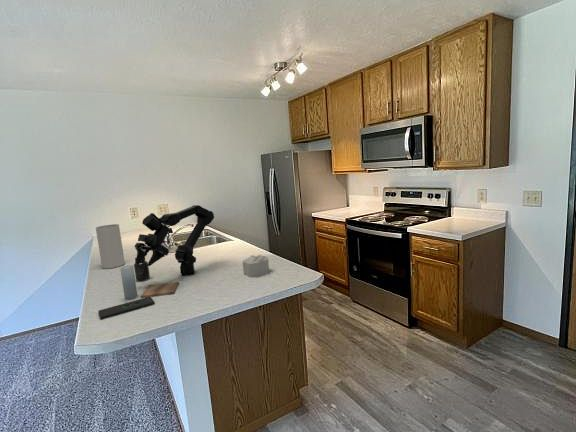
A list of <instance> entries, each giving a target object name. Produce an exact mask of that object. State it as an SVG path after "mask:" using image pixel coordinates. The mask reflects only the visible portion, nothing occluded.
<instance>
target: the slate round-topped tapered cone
mask: <svg viewBox="0 0 576 432" xmlns="http://www.w3.org/2000/svg"><path fill="white" fill-rule="evenodd" d="M119 269H120V270H119V271H120V276H121V283H122V288H123V294H124V300H127V301H128V300H129V301H130V300H133V299H137V297H138V289H137V283H136V276H135V270H134V265H132V264H131V265H123V266H120V268H119Z"/></svg>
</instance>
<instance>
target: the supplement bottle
mask: <svg viewBox="0 0 576 432" xmlns="http://www.w3.org/2000/svg"><path fill="white" fill-rule="evenodd" d="M135 262H136V257H134V264H133V268H134V275H135V281H137V282H145V281H148V280H149V279H150V278H151V274H150V273H151V272H150V268H149V267H150V266H148V263H149V261H146V256H145V257H144V258H143V259H142V260H141V261H140V262H139V263H138V264H135Z"/></svg>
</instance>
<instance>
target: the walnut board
mask: <svg viewBox="0 0 576 432" xmlns="http://www.w3.org/2000/svg"><path fill="white" fill-rule="evenodd" d="M179 284H180V283H179V281H171V282H165V283H164V282H163V283H155V284H148V285H147V287H146V288H145V290H144V291H143V292H142V294H141V296H140V299H143V298H146V297H151V298H152V297H154V298H155V297H159V296H160V297H161V296H167V295H169V296H170V295H174V294H175V293H176V290H177V289H178V287H179Z"/></svg>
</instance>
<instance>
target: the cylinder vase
mask: <svg viewBox="0 0 576 432" xmlns="http://www.w3.org/2000/svg"><path fill="white" fill-rule="evenodd" d="M95 231H96V238H97V239H96V240H97V244H98V245H97V246H98V251H99V257H100V264H101V267H102V268H103V269H105V270H107V269H108V270H109V269H114V268H119V267H120V268H121V267H123V266H125V262H126V261H125V256H124V255H125V254H124V249H123V243H122V235H121V230H120V224H117V223H116V224H104V225H99V226H96V227H95Z"/></svg>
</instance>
